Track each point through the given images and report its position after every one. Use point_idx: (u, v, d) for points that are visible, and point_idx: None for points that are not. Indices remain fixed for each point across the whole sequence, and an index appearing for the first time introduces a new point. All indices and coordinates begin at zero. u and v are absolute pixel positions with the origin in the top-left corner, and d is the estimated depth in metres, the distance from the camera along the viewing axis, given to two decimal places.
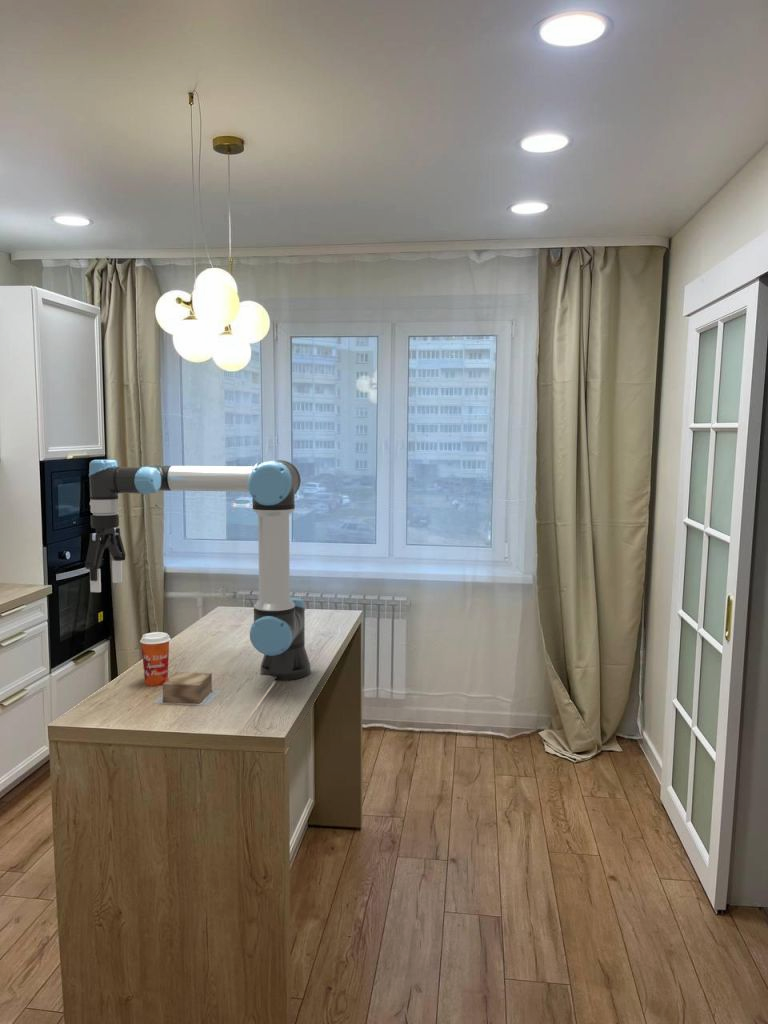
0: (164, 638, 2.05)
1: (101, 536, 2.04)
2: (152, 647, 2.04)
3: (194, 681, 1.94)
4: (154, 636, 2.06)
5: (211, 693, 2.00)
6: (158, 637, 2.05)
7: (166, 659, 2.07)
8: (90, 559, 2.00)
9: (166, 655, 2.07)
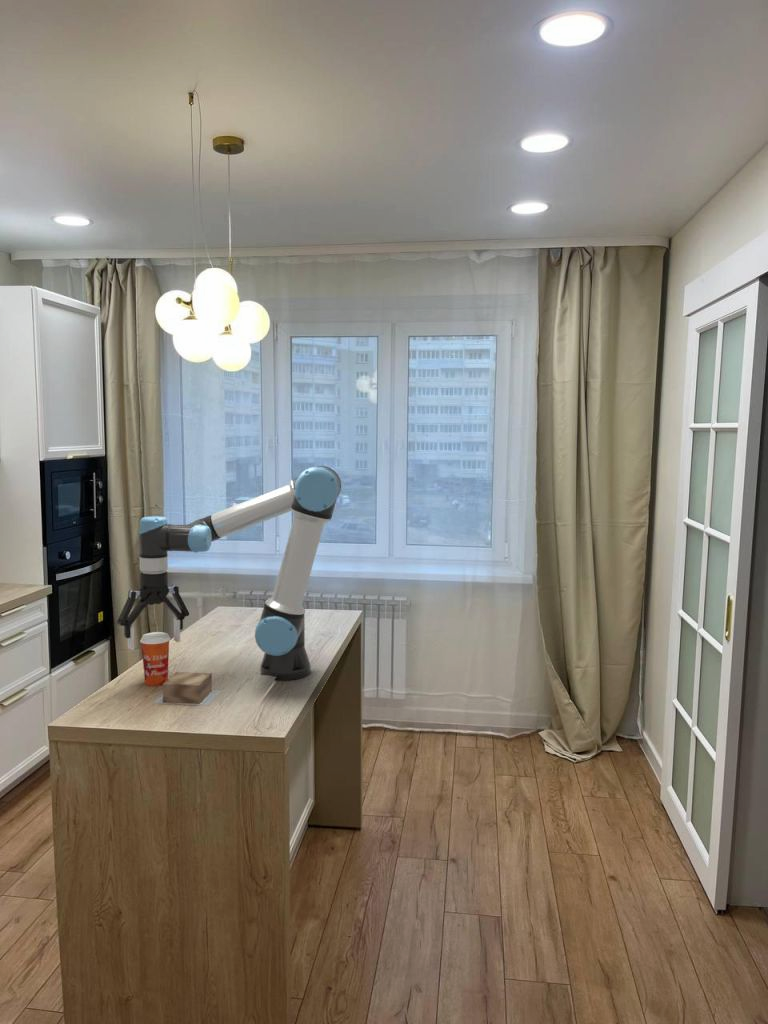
0: (164, 638, 2.05)
1: (141, 594, 2.03)
2: (152, 647, 2.04)
3: (194, 681, 1.94)
4: (154, 636, 2.06)
5: (211, 693, 2.00)
6: (158, 637, 2.05)
7: (166, 659, 2.07)
8: (121, 616, 2.00)
9: (166, 655, 2.07)
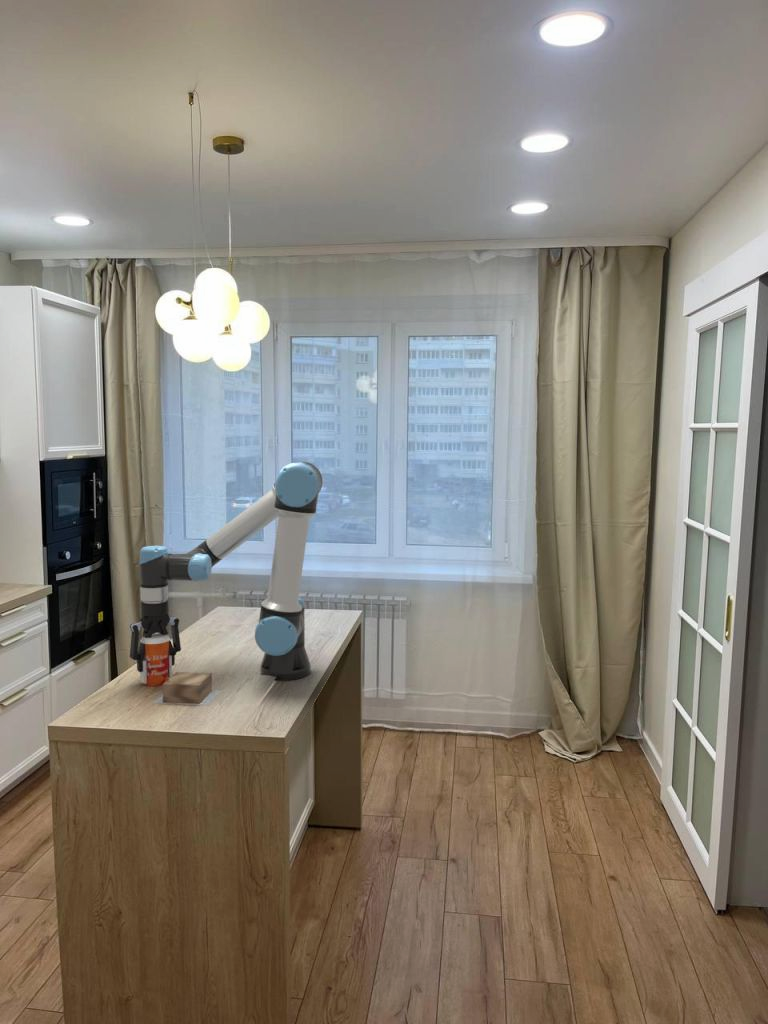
0: (164, 638, 2.05)
1: (142, 625, 2.04)
2: (152, 647, 2.04)
3: (194, 681, 1.94)
4: (154, 636, 2.06)
5: (211, 693, 2.00)
6: (158, 637, 2.05)
7: (166, 659, 2.07)
8: (131, 651, 2.03)
9: (166, 654, 2.07)
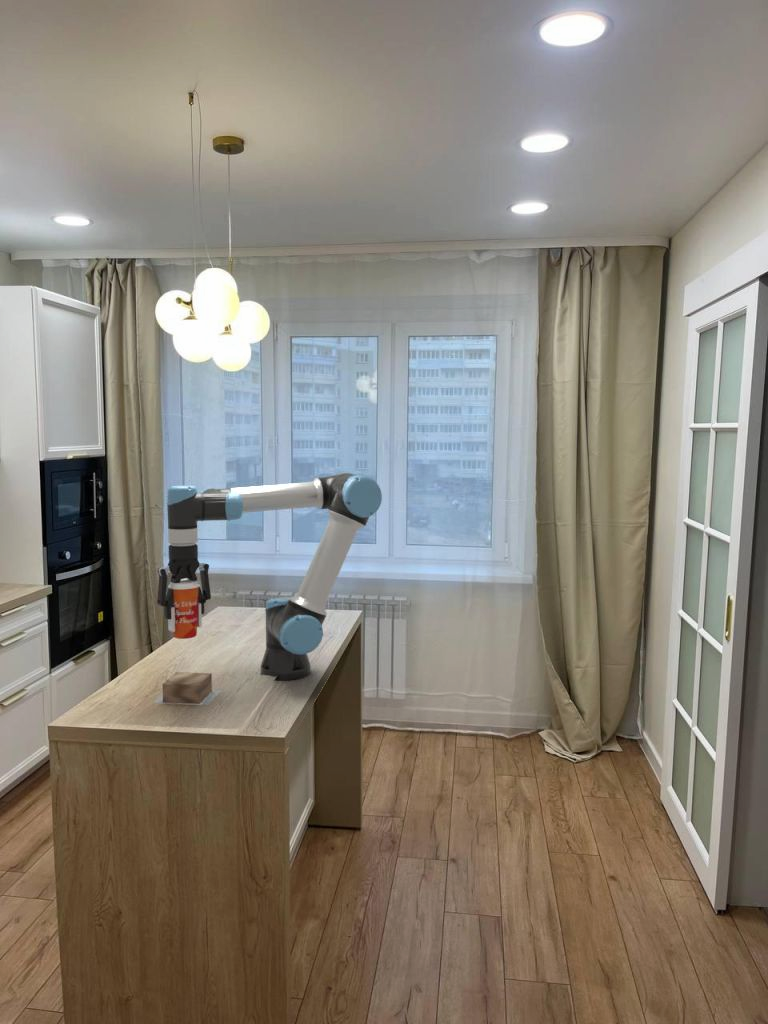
0: (193, 584, 1.93)
1: (170, 569, 1.91)
2: (181, 593, 1.91)
3: (194, 681, 1.94)
4: (183, 582, 1.93)
5: (211, 693, 2.00)
6: (187, 582, 1.92)
7: (195, 606, 1.94)
8: (159, 597, 1.90)
9: (196, 601, 1.94)
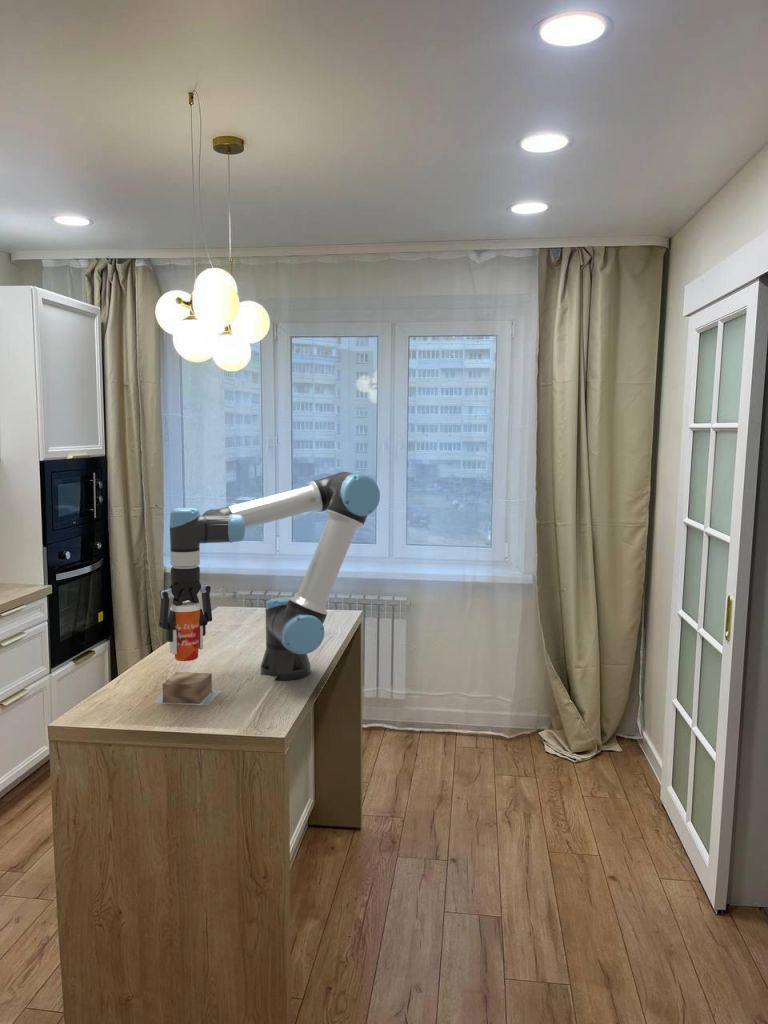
0: (195, 606, 1.93)
1: (173, 591, 1.91)
2: (183, 615, 1.91)
3: (194, 681, 1.94)
4: (185, 604, 1.93)
5: (211, 693, 2.00)
6: (189, 605, 1.92)
7: (197, 629, 1.94)
8: (161, 619, 1.90)
9: (198, 624, 1.94)
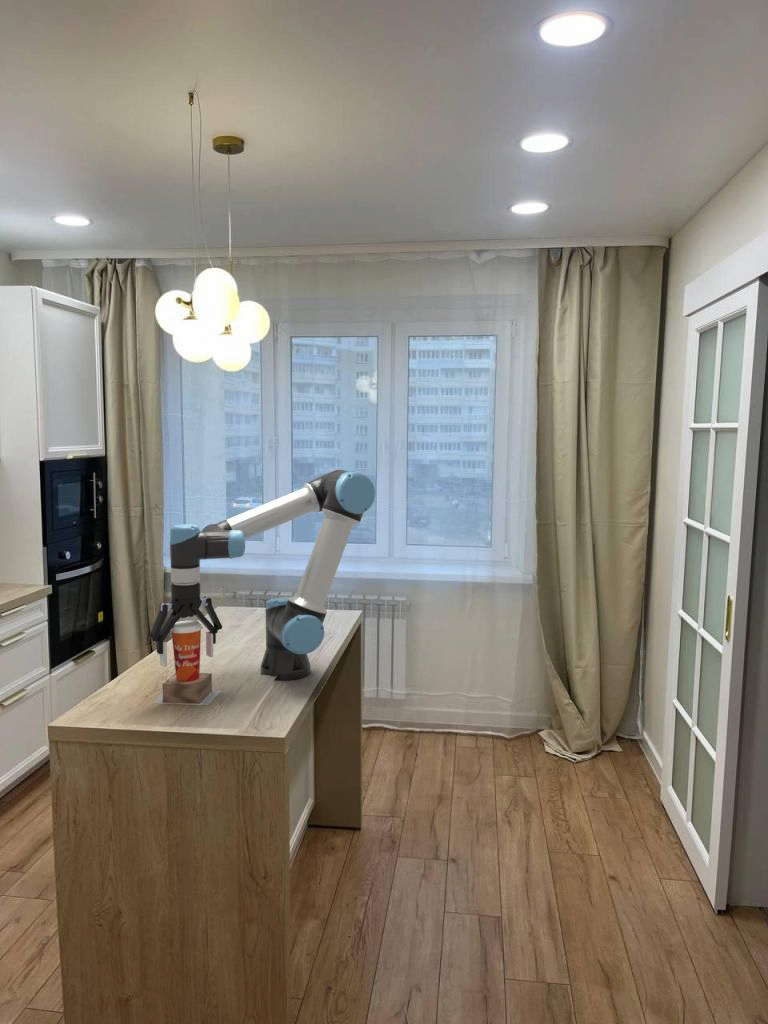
0: (196, 627, 1.93)
1: (173, 607, 1.91)
2: (184, 636, 1.92)
3: (194, 681, 1.94)
4: (185, 625, 1.94)
5: (211, 693, 2.00)
6: (189, 626, 1.93)
7: (198, 649, 1.95)
8: (153, 631, 1.89)
9: (198, 644, 1.95)
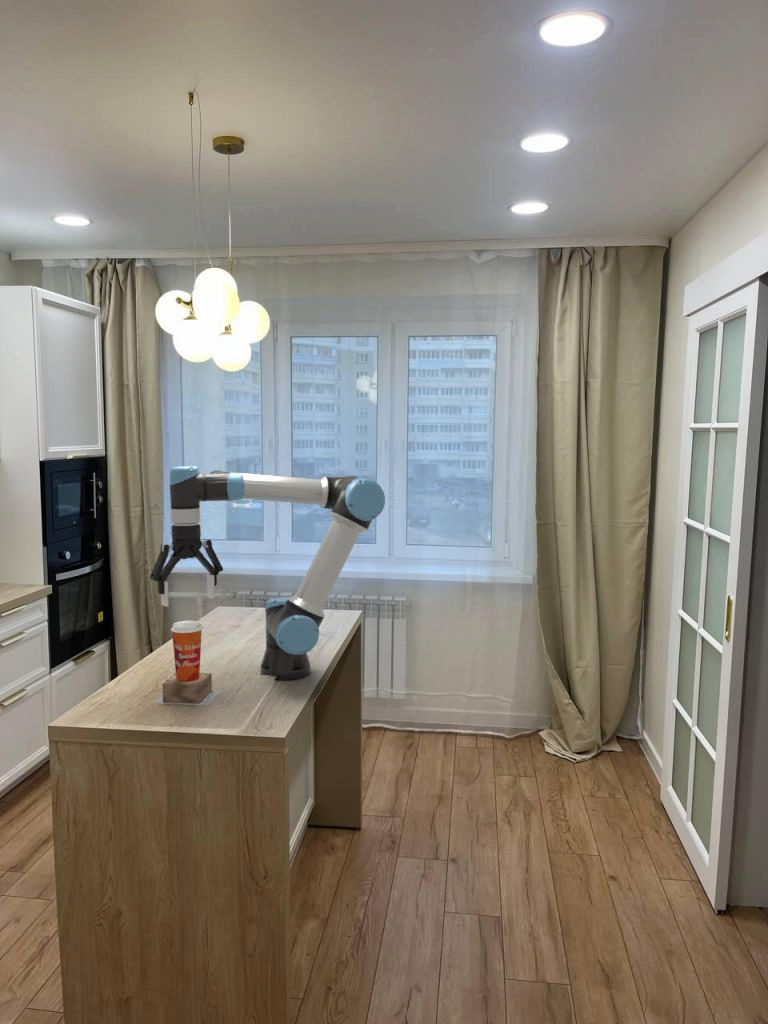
0: (197, 627, 1.93)
1: (174, 547, 1.92)
2: (184, 636, 1.92)
3: (194, 681, 1.94)
4: (186, 625, 1.94)
5: (211, 693, 2.00)
6: (190, 626, 1.93)
7: (198, 649, 1.95)
8: (154, 571, 1.90)
9: (199, 644, 1.95)
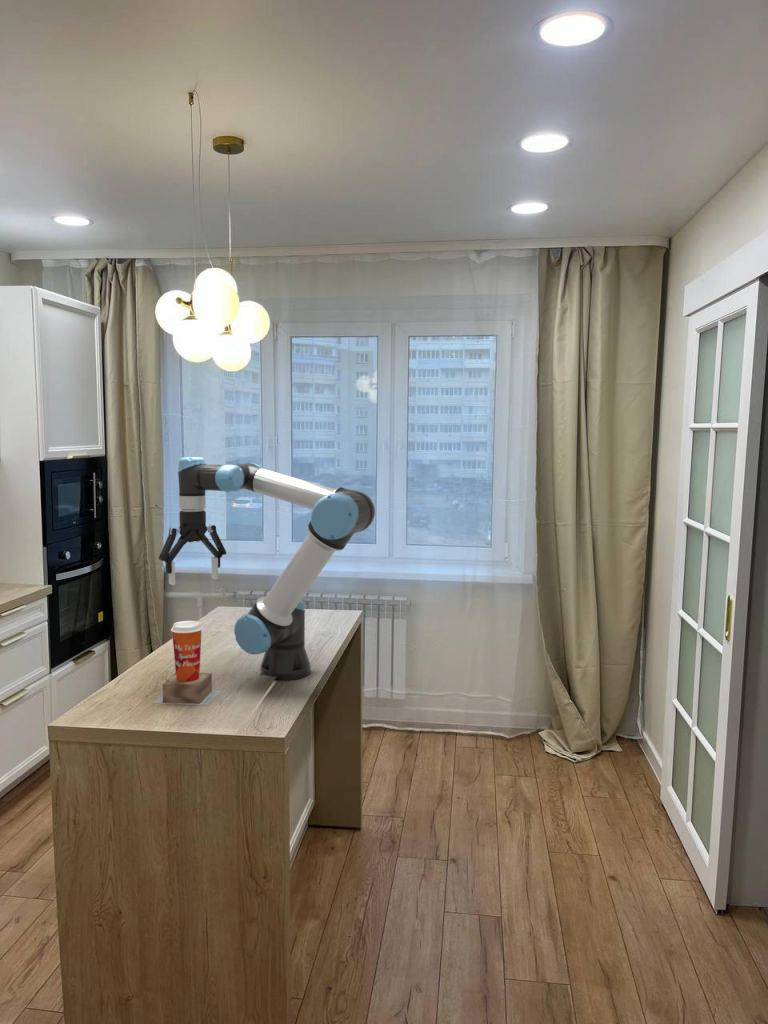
0: (196, 627, 1.93)
1: (181, 531, 2.10)
2: (184, 636, 1.92)
3: (194, 681, 1.94)
4: (186, 625, 1.94)
5: (211, 693, 2.00)
6: (190, 626, 1.93)
7: (198, 649, 1.95)
8: (163, 552, 2.08)
9: (199, 644, 1.95)
